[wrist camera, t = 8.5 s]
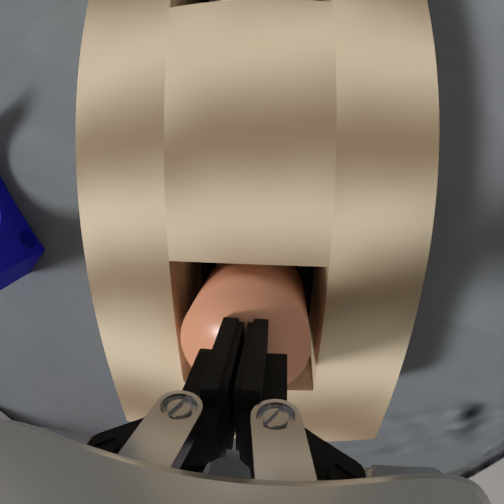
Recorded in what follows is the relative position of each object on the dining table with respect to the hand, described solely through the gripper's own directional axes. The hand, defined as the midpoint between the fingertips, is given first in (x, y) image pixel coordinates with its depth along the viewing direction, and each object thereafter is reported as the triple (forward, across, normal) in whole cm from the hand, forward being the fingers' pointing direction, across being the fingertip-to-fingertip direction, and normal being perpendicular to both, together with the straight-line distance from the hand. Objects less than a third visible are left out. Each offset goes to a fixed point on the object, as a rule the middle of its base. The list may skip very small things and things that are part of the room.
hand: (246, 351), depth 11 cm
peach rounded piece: (+5, 0, 0) cm, 5 cm away
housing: (+6, 0, -8) cm, 10 cm away
